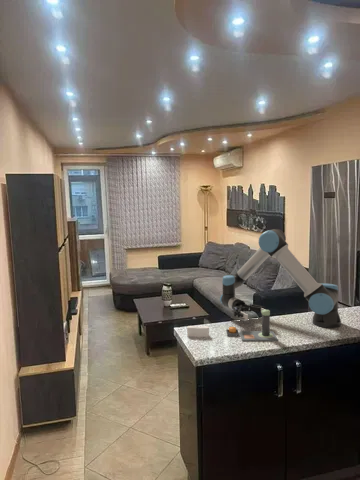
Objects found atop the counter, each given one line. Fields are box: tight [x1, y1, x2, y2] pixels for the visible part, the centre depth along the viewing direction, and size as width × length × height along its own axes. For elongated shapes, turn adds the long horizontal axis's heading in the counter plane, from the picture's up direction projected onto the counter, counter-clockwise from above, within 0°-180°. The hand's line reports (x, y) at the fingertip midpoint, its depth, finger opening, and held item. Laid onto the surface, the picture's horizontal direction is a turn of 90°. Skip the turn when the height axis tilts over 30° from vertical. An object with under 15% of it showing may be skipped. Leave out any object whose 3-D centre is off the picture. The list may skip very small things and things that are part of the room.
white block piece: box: [186, 325, 210, 338], centre depth 189 cm, size 15×11×6 cm
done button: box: [228, 326, 237, 333], centre depth 190 cm, size 4×4×2 cm
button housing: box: [226, 328, 240, 337], centre depth 190 cm, size 6×6×2 cm
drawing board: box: [239, 330, 279, 342], centre depth 185 cm, size 18×12×1 cm, turn 87°
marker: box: [261, 309, 271, 336], centre depth 185 cm, size 4×4×13 cm
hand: (258, 315), depth 190 cm, fingers open, 13 cm apart
